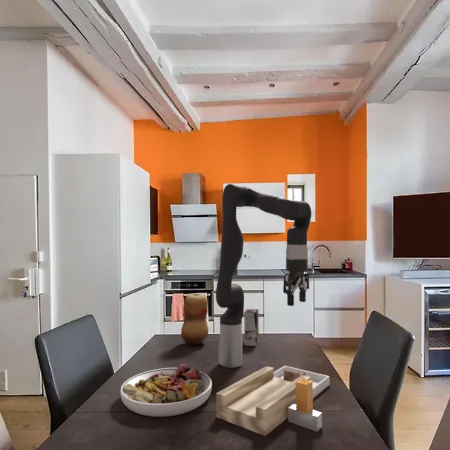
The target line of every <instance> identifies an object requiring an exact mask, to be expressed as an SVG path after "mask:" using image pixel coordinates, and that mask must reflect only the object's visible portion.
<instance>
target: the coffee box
mask: <svg viewBox="0 0 450 450" xmlns="http://www.w3.org/2000/svg"><path fill="white" fill-rule="evenodd" d="M243 318H244V325H243V327H244V329H243V331H244V346H253V347H255V346H256V347H257V346H258V344H259V342H260V329H259V309H255V308H253V309H251V308H250V309H249V308H248V309H246V310H244V314H243Z"/></svg>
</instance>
